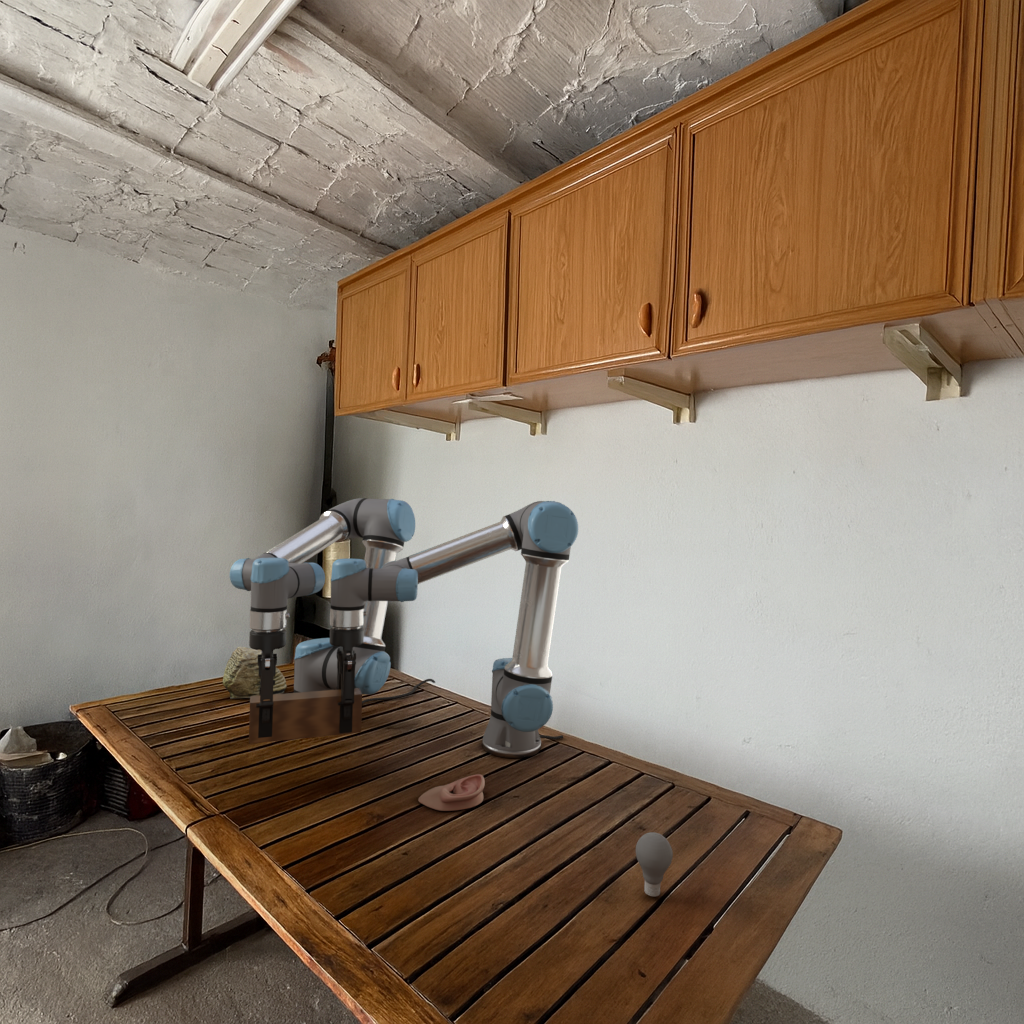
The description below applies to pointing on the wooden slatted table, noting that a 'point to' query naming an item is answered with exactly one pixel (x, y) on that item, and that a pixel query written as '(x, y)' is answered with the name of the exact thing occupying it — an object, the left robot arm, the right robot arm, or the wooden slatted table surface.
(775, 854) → the wooden slatted table surface
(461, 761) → the wooden slatted table surface
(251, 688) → the fossil
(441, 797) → the anatomical model
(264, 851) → the wooden slatted table surface
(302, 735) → the bar
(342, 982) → the wooden slatted table surface
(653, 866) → the light bulb
